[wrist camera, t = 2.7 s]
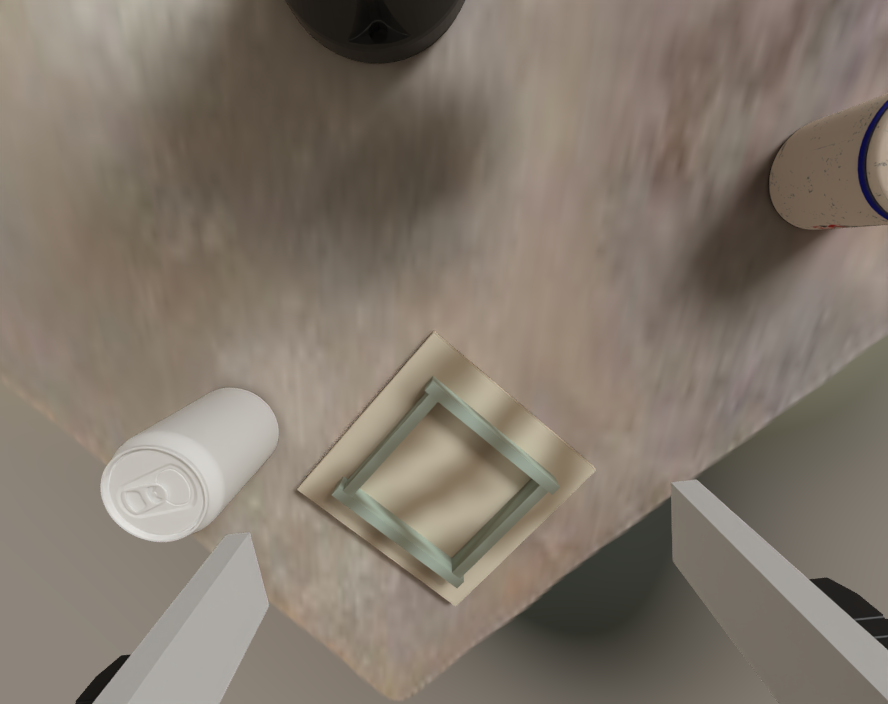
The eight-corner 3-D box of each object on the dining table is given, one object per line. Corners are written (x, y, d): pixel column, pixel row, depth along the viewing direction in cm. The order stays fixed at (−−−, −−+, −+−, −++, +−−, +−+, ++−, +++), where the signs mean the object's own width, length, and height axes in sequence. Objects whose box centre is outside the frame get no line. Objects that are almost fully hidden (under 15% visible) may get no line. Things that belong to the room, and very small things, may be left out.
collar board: (300, 484, 42) (289, 501, 39) (433, 330, 38) (432, 336, 35) (455, 598, 44) (456, 623, 41) (592, 465, 41) (603, 481, 38)
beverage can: (295, 451, 41) (234, 529, 29) (218, 475, 41) (128, 562, 30) (260, 373, 39) (180, 424, 27) (180, 400, 40) (69, 460, 28)
